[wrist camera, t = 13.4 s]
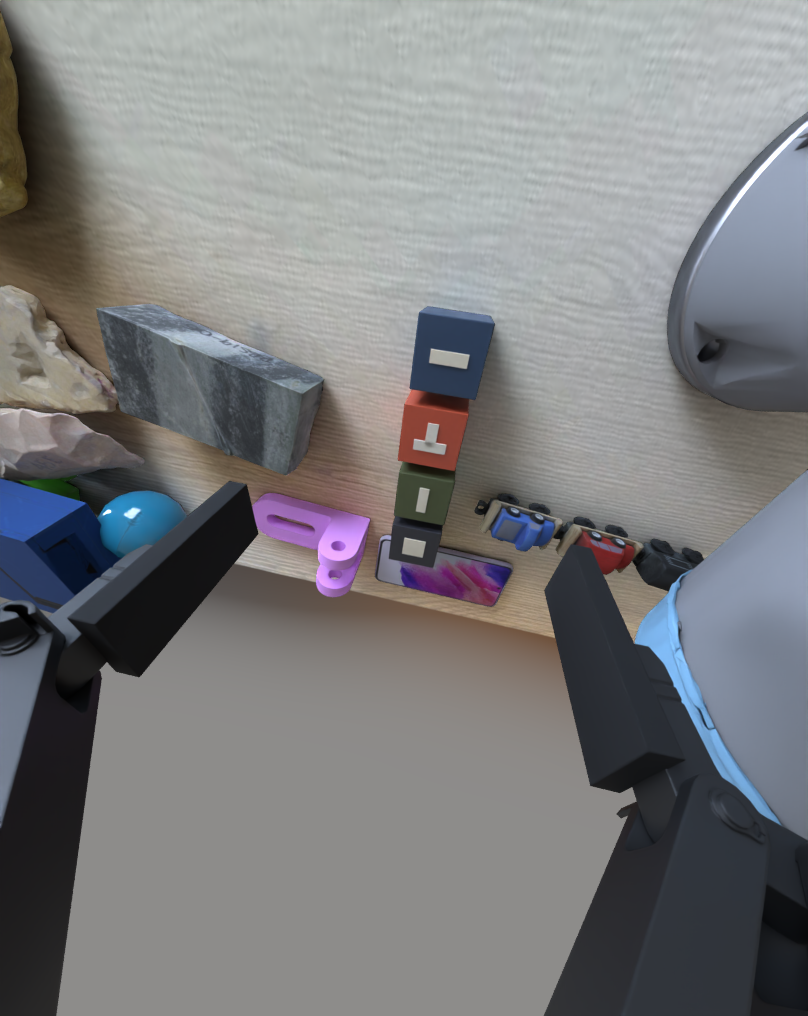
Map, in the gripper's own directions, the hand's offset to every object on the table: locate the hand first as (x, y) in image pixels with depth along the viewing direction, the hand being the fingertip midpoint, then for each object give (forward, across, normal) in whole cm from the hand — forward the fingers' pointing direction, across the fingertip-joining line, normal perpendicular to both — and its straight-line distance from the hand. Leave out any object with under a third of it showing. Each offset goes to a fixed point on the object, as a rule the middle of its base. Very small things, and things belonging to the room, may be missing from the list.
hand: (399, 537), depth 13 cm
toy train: (+17, +16, -10) cm, 25 cm away
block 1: (+16, 0, +5) cm, 17 cm away
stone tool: (+13, -30, -7) cm, 33 cm away
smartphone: (+16, +4, -19) cm, 25 cm away
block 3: (+16, 0, -12) cm, 20 cm away
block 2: (+16, 0, -6) cm, 18 cm away
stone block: (+16, -17, -1) cm, 24 cm away
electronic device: (+7, -31, -21) cm, 38 cm away
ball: (+14, -32, -20) cm, 40 cm away
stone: (+16, -35, 0) cm, 39 cm away
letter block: (+16, 0, -1) cm, 16 cm away
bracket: (+17, -12, -15) cm, 25 cm away
